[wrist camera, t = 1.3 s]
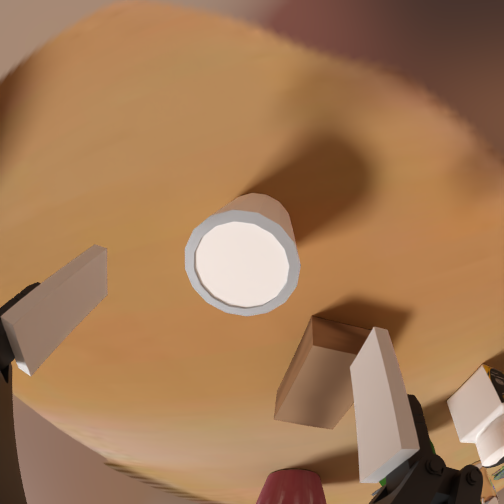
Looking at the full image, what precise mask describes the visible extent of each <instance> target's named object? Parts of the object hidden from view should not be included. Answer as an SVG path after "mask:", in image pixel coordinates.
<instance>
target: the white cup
mask: <svg viewBox="0 0 504 504" xmlns="http://www.w3.org/2000/svg"><path fill="white" fill-rule="evenodd" d="M300 266H301V265H300V260H299V255H298V251H297V246H296V242H295V237H294V233H293V228H292V224H291V220H290V217H289V213H288V212H287V211H286V209H285V208H284V207H283V206H282V204H281V203H280V202H279V201H277V200H275V199H274V198H272V197H270V196H268V195H265V194H258V193H250V194H246V195H243V196H239V197H237V198H236V199H234V200H233V201H231V202H230V203H228V204H227V205H225V206H224V207H223V208H221V209H220V210H218V211H217V212H215V213H214V214H212V215H211V216H210V217H208V218H207V219H206V220H205V221H204V222H202V223H201V224H200V225H199V226H198V227H196V228H195V229H194V230H193V232H192V234H191V237H190V239H189V241H188V243H187V245H186V247H185V270H186V272H187V275H188V277H189V279H190V282H191V284H192V286H193V288H194V289H195V290H196V291H197V292H198V293H199V294H200V296H201V297H202V298H203V299H204V300H205V301H206V302H207V303H209V304H211V305H212V306H214V307H216V308H218V309H220V310H222V311H224V312H226V313H231V314H237V315H243V316H251V315H257V314H263V313H268V312H270V311H271V310H273V309H275V308H276V307H278V306H280V305H281V304H283V303H285V302H286V300H287V299H288V298H289V296H290V295H291V293H292V292H293V291H294V289H295V288H296V286H297V282H298V277H299V272H300Z"/></svg>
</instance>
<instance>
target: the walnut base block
mask: <svg viewBox="0 0 504 504" xmlns="http://www.w3.org/2000/svg"><path fill="white" fill-rule="evenodd" d="M371 331H372V330H368V329H364V328H359V327H355V326H351V325H347V324H342V323H338V322H334V321H330V320H326V319H322V318H318V317H314V316H312V317H311V319H310V321H309V324H308V326H307V328H306V331H305V333H304V335H303V337H302V340H301V342H300V344H299V346H298V348H297V351H296V353H295V355H294V357H293V359H292V361H291V363H290V366H289V368H288V370H287V372H286V374H285V376H284V378H283V380H282V382H281V384H280V386H279V388H278V390H277V397H276V405H275V413H274V420H279V421H284V422H290V423H295V424H300V425H306V426H312V427H319V428H326V429H333V428H334V427H335V426H336V425H337V423H338V422H339V421H340V420H341V418H342V417H343V416H344V415H345V413H346V412H347V411H348V410H349V408H350V407H351V406H352V404H353V403H354V397H353V388H352V379H351V371H350V366H351V365H352V363H353V361H354V360H355V358H356V356H357V355H358V353H359V351H360V350H361V348H362V346H363V345H364V343H365V341H366V339H367V338H368V336H369V334H370V332H371Z"/></svg>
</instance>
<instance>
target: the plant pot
mask: <svg viewBox="0 0 504 504" xmlns="http://www.w3.org/2000/svg"><path fill="white" fill-rule="evenodd" d="M256 504H326V499H325V495H324V491H323V487H322V484H321V480H320V476H319V475H318V474H316V473H314V472H312V471H308V470H301V469H288V470H280V471H276V472H273V473H271V474H270V475H269V476H268V477H267V480H266V482H265V484H264V487H263V489H262V491H261V493H260V496H259V498H258V500H257V502H256Z"/></svg>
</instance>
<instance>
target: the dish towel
mask: <svg viewBox="0 0 504 504" xmlns="http://www.w3.org/2000/svg"><path fill="white" fill-rule="evenodd" d="M495 475H496V476H495ZM492 476H495V477H494V480H499V479H501V478H504V466H503V467H502V468H501V469H499V470H498V471H497V472H495V473H494V474H493V475H492Z"/></svg>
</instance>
